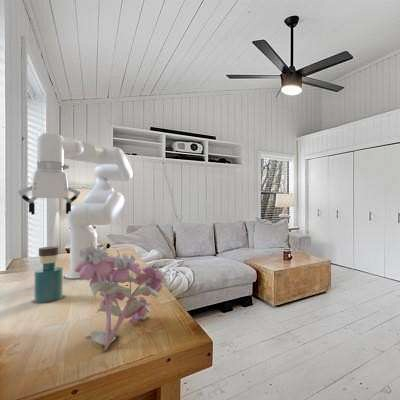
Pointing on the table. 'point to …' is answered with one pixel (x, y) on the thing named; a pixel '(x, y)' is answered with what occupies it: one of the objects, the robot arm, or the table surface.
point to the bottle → (48, 280)
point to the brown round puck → (48, 251)
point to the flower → (117, 287)
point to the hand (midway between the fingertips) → (50, 213)
